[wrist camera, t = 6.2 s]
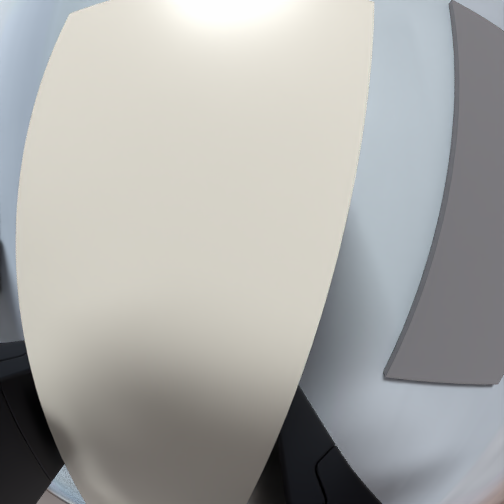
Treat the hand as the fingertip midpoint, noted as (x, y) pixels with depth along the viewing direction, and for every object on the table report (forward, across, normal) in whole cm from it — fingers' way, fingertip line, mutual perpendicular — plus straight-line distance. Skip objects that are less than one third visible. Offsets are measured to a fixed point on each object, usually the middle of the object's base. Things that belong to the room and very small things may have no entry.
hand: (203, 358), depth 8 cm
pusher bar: (+2, 0, 0) cm, 2 cm away
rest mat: (+2, -10, -7) cm, 13 cm away
